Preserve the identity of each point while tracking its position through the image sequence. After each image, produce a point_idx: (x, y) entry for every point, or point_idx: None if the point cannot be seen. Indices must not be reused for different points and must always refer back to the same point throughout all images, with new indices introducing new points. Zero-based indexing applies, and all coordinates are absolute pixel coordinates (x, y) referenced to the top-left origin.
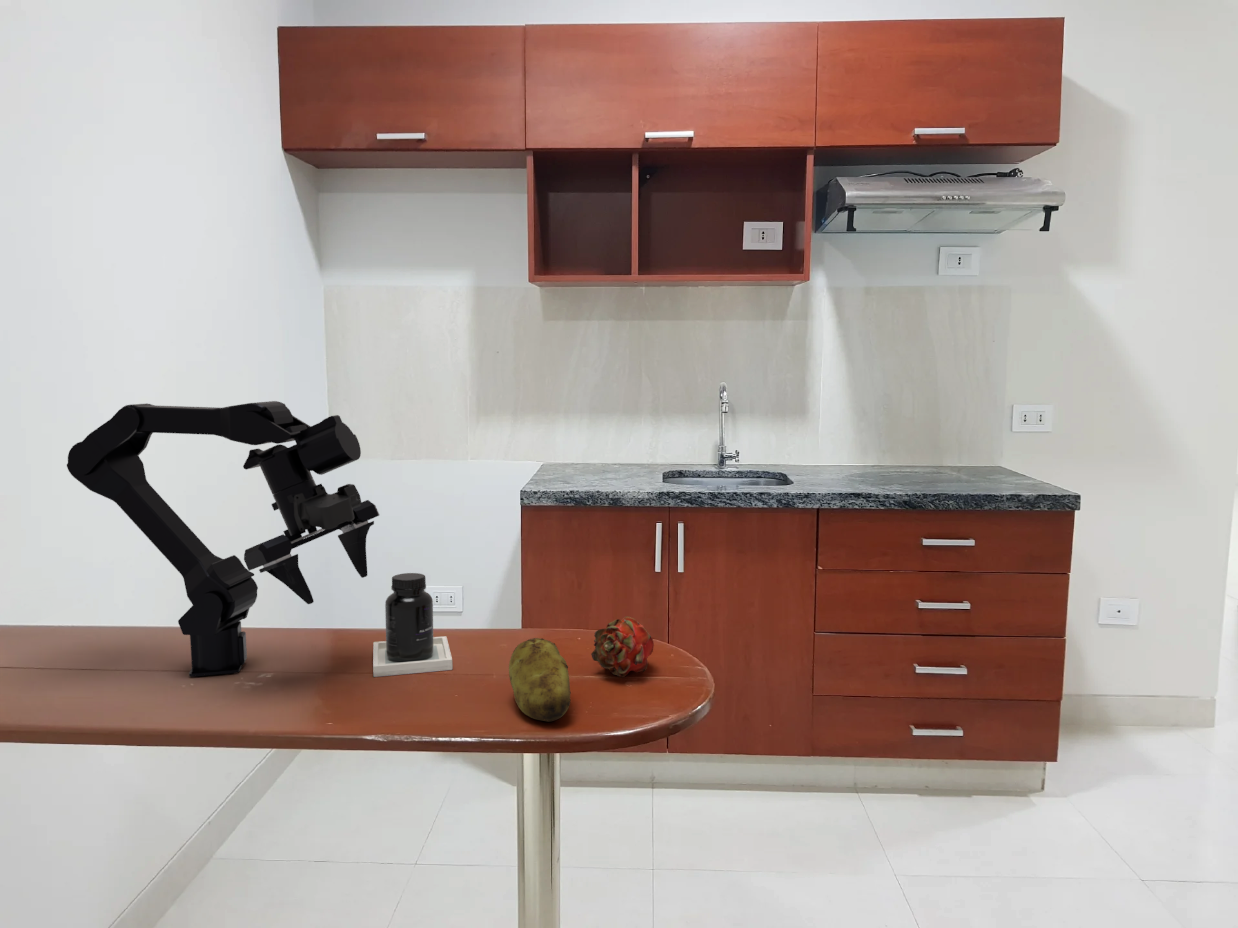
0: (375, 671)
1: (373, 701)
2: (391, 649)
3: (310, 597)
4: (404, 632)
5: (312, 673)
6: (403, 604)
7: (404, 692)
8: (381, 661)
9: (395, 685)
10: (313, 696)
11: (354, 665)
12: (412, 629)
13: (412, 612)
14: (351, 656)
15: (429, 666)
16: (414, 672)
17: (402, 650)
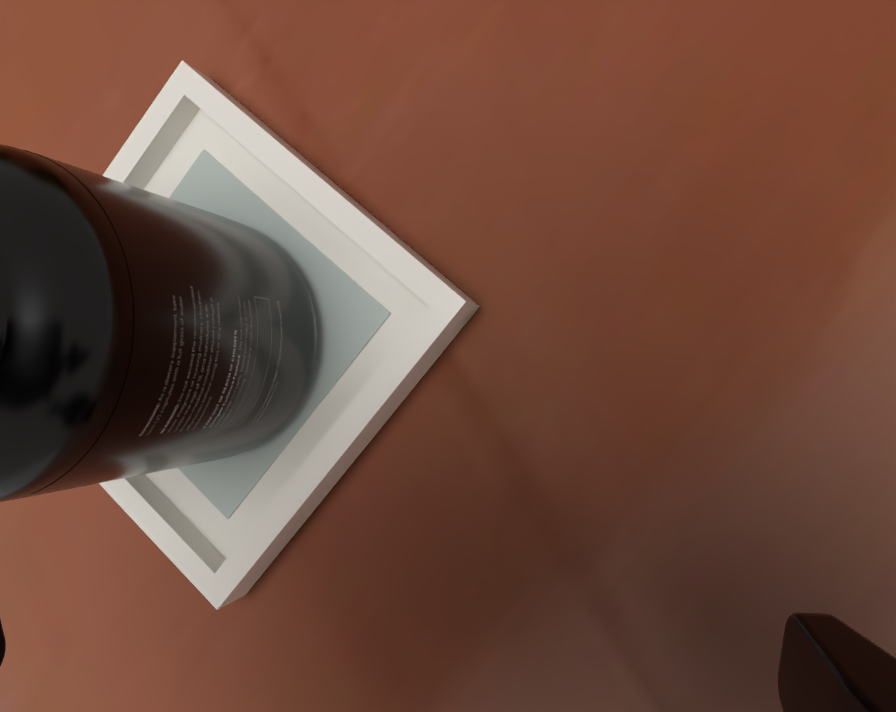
0: (464, 297)
1: (700, 33)
2: (294, 340)
3: (850, 645)
4: (210, 243)
5: (629, 625)
6: (71, 214)
7: (529, 15)
8: (343, 404)
9: (492, 126)
10: (849, 341)
11: (425, 524)
12: (170, 203)
13: (85, 176)
14: (349, 643)
15: (271, 133)
16: (333, 183)
17: (278, 267)
